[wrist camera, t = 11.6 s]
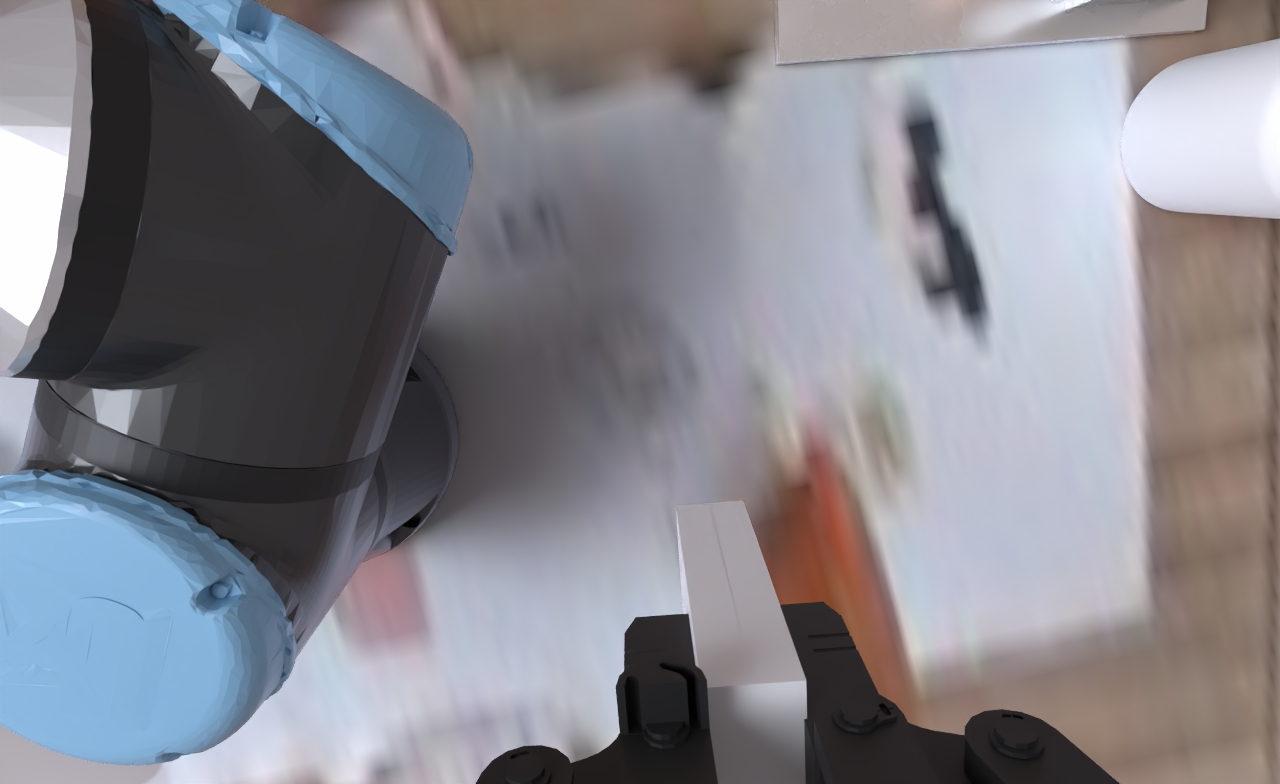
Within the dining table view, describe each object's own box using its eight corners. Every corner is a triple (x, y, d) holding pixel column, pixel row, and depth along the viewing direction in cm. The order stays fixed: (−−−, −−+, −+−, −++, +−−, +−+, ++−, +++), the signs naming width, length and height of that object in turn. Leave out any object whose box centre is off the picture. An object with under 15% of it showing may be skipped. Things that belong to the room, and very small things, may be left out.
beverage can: (1139, 45, 43) (1328, -3, 31) (1283, 70, 43) (1523, 31, 32) (1094, 199, 45) (1256, 207, 33) (1232, 221, 45) (1439, 237, 34)
